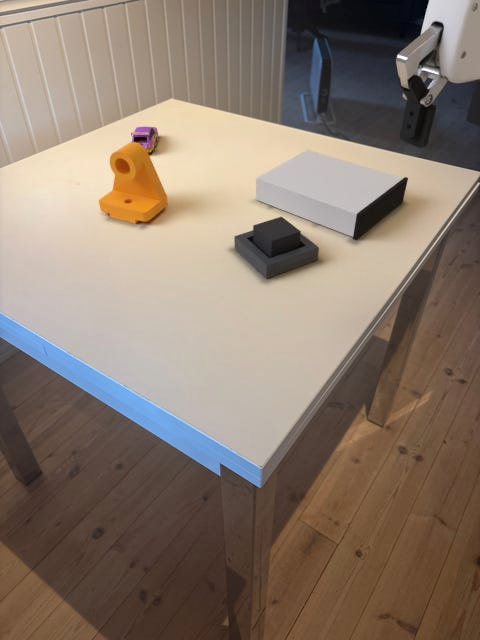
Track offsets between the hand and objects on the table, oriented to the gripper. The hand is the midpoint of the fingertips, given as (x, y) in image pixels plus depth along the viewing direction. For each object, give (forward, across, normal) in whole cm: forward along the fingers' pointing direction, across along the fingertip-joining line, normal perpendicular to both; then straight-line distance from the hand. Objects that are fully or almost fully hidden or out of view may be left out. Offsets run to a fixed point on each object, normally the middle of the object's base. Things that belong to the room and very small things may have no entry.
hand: (446, 133), depth 50 cm
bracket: (+26, -20, +49) cm, 59 cm away
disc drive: (+26, +14, +33) cm, 44 cm away
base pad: (+26, -5, +23) cm, 35 cm away
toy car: (+26, -6, +78) cm, 83 cm away
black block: (+25, -5, +23) cm, 35 cm away
